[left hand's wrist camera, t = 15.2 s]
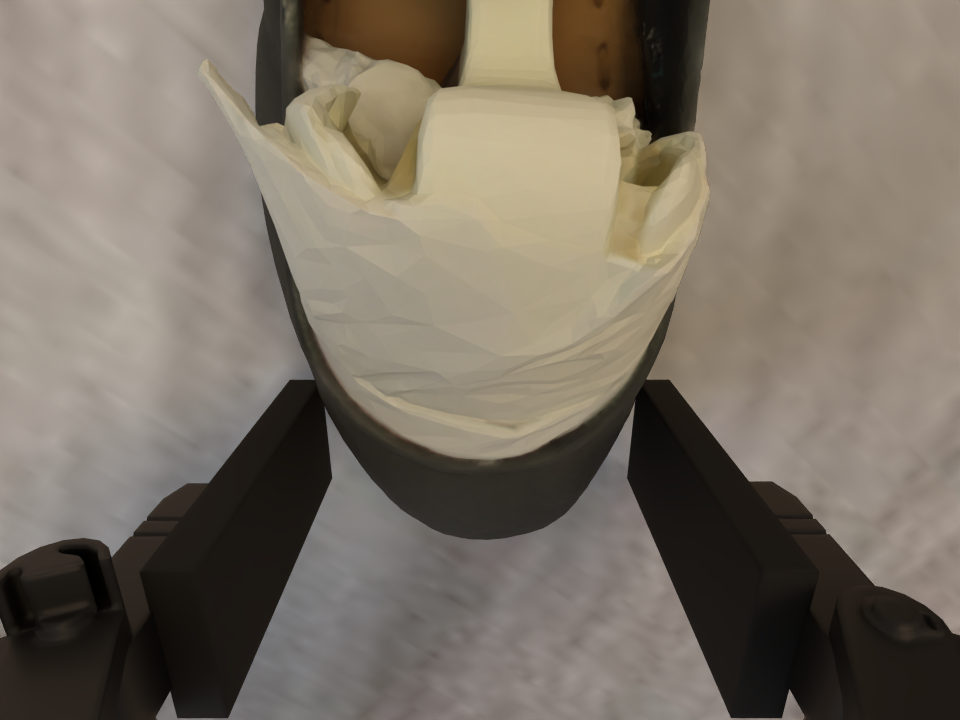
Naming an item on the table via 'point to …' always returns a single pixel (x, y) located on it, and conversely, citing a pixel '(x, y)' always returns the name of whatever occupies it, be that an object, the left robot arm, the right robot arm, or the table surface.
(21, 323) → the table surface
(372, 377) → the ballet flat
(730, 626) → the left robot arm
